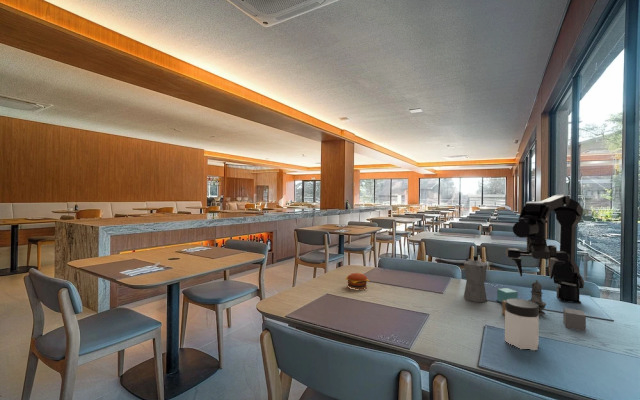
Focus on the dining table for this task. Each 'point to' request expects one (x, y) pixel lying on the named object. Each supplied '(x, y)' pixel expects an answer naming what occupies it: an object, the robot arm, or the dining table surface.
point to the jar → (522, 323)
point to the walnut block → (503, 307)
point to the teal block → (506, 294)
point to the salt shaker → (537, 297)
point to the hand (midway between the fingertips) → (535, 277)
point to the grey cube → (574, 319)
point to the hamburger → (357, 281)
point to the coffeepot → (475, 280)
